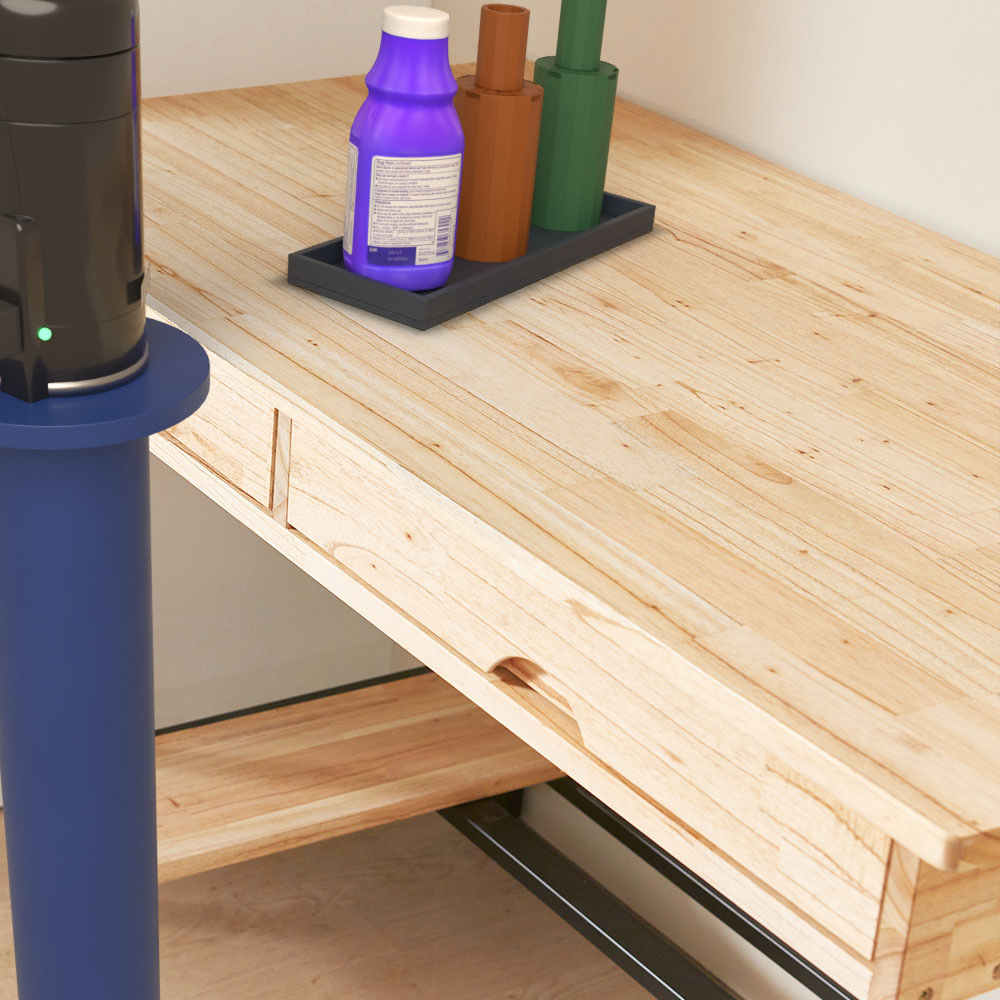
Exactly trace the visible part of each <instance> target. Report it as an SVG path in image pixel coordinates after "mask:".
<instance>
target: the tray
mask: <svg viewBox="0 0 1000 1000" xmlns="http://www.w3.org/2000/svg"><path fill="white" fill-rule="evenodd" d="M656 209H657V205H655V204H652V203H648V202H645V201H641V200H637V199H634V198H631V197H628V196H624V195H620V194H616V193H613V192H609V191H606V190H604V194H603V202H602V210H601V218H600V223H599V225H597V226H594V227H592V228H589V229H587V230H584V231H579V232H565V231H555V230H549V229H544V228H540V227H537V226H534V225H531V224H530V231H529V241H528V251H527V253H526V255H523V256H521V257H518V258H516V259H513V260H511V261H509V262H502V263H492V262H478V261H472V260H466V259H463V258H460V257H457V256H454V262H453V267H452V270H451V273H450V275H449V277H448V279H447V281H446V282H445V284H444V285H443V286H441V287H438V288H435V289H430V290H424V291H412V292H410V291H407V290H404V289H401V288H398V287H395V286H392V285H389V284H386V283H383V282H380V281H377V280H374V279H371V278H368V277H365V276H362V275H359V274H356V273H354V272H351V271H348V270H346V268H345V264H344V258H343V235H341V236H337V237H335V238H332V239H329V240H326V241H322V242H321V243H317V244H314V245H311V246H308V247H305V248H302V249H299V250H296V251H294V252H290V253H288V254H287V280H286V281H287V284H289V285H293V286H295V287H299V288H300V289H301V288H302V289H305V290H307V291H310V292H313V293H315V294H318V295H321V296H324V297H327V298H329V299H333V300H335V301H339V302H341V303H344V304H346V305H349V306H353V307H355V308H358V309H361V310H364V311H366V312H369V313H372V314H375V315H378V316H381V317H383V318H387V319H389V320H392V321H395V322H398V323H400V324H403V325H406V326H408V327H411V328H415V329H418V330H419V331H426V330H428V329H430V328H432V327H435V326H436V325H439V324H441V323H444V322H447V321H449V320H451V319H454V318H455V317H458V316H460V315H462V314H464V313H467V312H469V311H472V310H474V309H476V308H478V307H481V306H483V305H485V304H487V303H490V302H492V301H494V300H497V299H499V298H501V297H503V296H506V295H508V294H510V293H513V292H515V291H518V290H520V289H521V288H525V287H526V286H529V285H531V284H533V283H536V282H538V281H540V280H543V279H545V278H548V277H549V276H552V275H554V274H556V273H558V272H561V271H563V270H566V269H567V268H570V267H572V266H574V265H577V264H579V263H581V262H584V261H586V260H589V259H591V258H593V257H595V256H597V255H599V254H602V253H605V252H607V251H609V250H611V249H613V248H616V247H618V246H621V245H622V244H625V243H627V242H630V241H632V240H634V239H637V238H639V237H641V236H643V235H645V234H648V233H650V232H652V231H653V230H654V224H655V223H654V222H655V215H656Z"/></svg>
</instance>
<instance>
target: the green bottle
mask: <svg viewBox="0 0 1000 1000" xmlns="http://www.w3.org/2000/svg"><path fill="white" fill-rule="evenodd" d="M607 4H608V0H561V2H560V11H559V19H558V20H559V21H558V30H557V31H558V32H557V40H556V41H557V42H556V50H555V55H546V56H542V57H538V58H537V59H535V61H534V68H533V78H532V82H535V83H537V84H539V85H541V86H542V88H543V89H544V95H543V105H542V114H541V124H540V134H539V144H538V153H537V163H536V173H535V183H534V192H533V202H532V212H531V222H530V224H531V225H534V226H537V227H540V228H544V229H549V230H555V231H565V232H579V231H584V230H587V229H589V228H592V227H594V226H597V225H599V223H600V218H601V210H602V202H603V194H604V191H605V185H606V177H607V170H608V161H609V153H610V146H611V137H612V131H613V130H612V129H613V121H614V115H615V114H614V113H615V105H616V99H617V97H616V96H617V89H618V80H619V73H620V69H619V68H618V67H617V66H616V65H614V64H612V63H610V62H607V61H604V60H601V56H602V47H603V38H604V30H605V22H606V14H607V6H608V5H607Z"/></svg>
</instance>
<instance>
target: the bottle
mask: <svg viewBox="0 0 1000 1000" xmlns="http://www.w3.org/2000/svg"><path fill="white" fill-rule="evenodd" d="M450 17H451V16H450V14H449V13H448V12H446V11H444V10H441V9H437V8H433V7H427V6H419V5H406V4H405V5H391V6H390V5H389V6H386V7H385V8H383V13H382V21H381V27H380V28H381V37H380V44H379V49H378V53H377V56H376V59H375V61H374V62H373V65H371V68H370V69H369V71H368V72H367V73H366V75H365V78H364V84H365V86H366V88H367V90H368V94H367V96H366V98H365V100H364V101H363V102H362V104H361V105H360V107H359V108H358V111H357V113H356V114H355V117H354V119H353V122H352V124H351V127H350V131H349V139H348V150H347V165H346V166H347V168H346V182H345V183H346V184H345V199H344V200H345V202H344V218H343V235H342V236H343V258H344V264H345V268H346V270H348V271H351V272H354V273H356V274H359V275H362V276H365V277H368V278H371V279H374V280H377V281H380V282H383V283H386V284H389V285H392V286H395V287H398V288H401V289H404V290H407V291H410V292H412V291H424V290H430V289H435V288H438V287H441V286H443V285H444V284H445V282H446V281H447V279H448V277H449V275H450V273H451V270H452V267H453V262H454V252H455V245H456V232H457V221H458V211H459V201H460V188H461V178H462V169H463V157H464V147H465V138H464V134H463V130H462V127H461V123H460V121H459V118H458V115H457V112H456V110H455V108H454V105H453V101H452V99H453V97H454V96H455V94H456V93H457V91H458V85H457V83H456V81H455V80H456V79H455V76H454V75H453V74H454V73H453V71H452V69H451V65H450V58H449V57H450V56H449V38H450V37H449V36H450V22H451V21H450V20H451V19H450Z"/></svg>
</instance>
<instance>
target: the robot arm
mask: <svg viewBox="0 0 1000 1000" xmlns="http://www.w3.org/2000/svg"><path fill="white" fill-rule="evenodd" d="M140 41H141V13H140V0H0V391H2V392H4V393H6V394H9V395H11V396H13V397H15V398H18V399H20V400H22V401H24V402H27V403H35V402H38V401H40V400H43V399H47V398H54V397H72V396H82V395H89V394H95V393H100V392H104V391H108V390H112V389H115V388H118V387H121V386H123V385H125V384H128V383H129V382H131V381H133V380H135V379H136V378H138V377H139V376H140V375H141V374H142V373H143V372H144V371H145V370H146V368H147V366H148V361H149V359H148V344H147V341H146V317H147V315H146V312H147V311H146V297H147V294H148V291H149V288H150V286H151V261H149V262H148V266H147V268H146V267H145V266H146V263H145V262H146V261H145V218H144V217H145V216H144V215H145V214H144V211H145V210H144V170H143V169H144V168H143V163H144V161H143V119H142V117H143V115H142V112H143V111H142V100H143V99H142V58H141V56H142V55H141V42H140ZM145 268H146V269H145Z"/></svg>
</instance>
